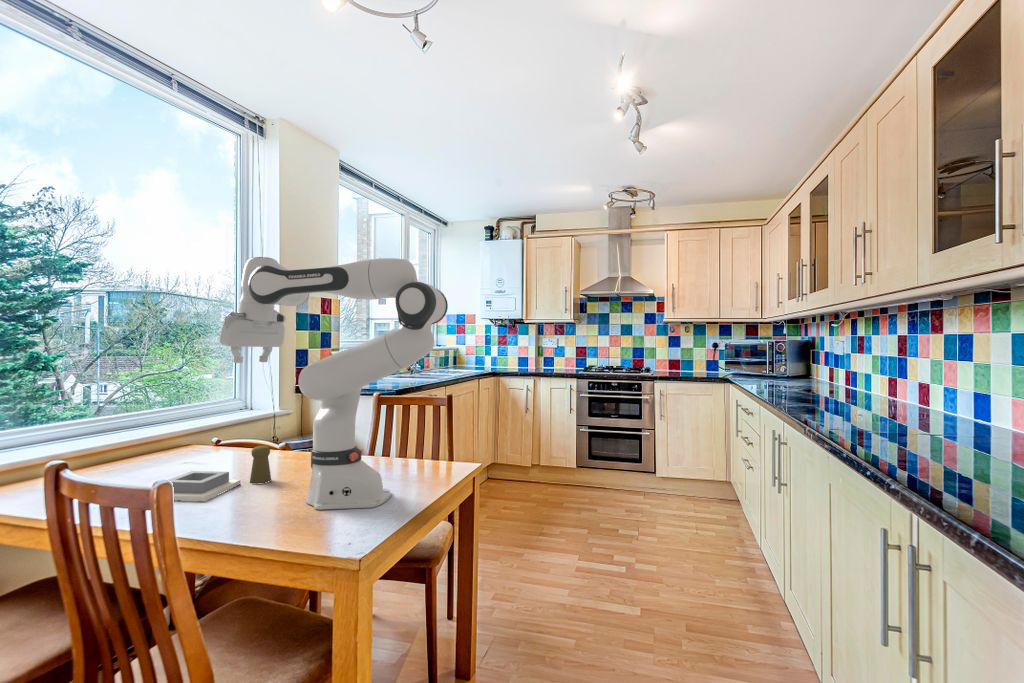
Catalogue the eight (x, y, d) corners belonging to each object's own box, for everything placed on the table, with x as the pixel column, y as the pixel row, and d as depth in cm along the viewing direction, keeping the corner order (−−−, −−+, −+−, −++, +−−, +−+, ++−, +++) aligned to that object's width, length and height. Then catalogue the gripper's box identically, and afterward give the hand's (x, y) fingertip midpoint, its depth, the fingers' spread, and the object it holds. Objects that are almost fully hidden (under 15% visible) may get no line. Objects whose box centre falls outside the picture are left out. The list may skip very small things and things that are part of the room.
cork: (262, 484, 149) (262, 448, 149) (245, 483, 150) (245, 447, 150) (275, 479, 155) (275, 444, 155) (259, 478, 156) (259, 444, 156)
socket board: (240, 484, 149) (240, 470, 149) (204, 501, 133) (204, 485, 133) (190, 483, 150) (190, 469, 150) (148, 500, 134) (148, 483, 134)
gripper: (236, 312, 127) (230, 364, 128) (289, 317, 147) (285, 362, 147) (216, 310, 129) (211, 361, 129) (272, 315, 149) (267, 360, 149)
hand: (250, 362), depth 138 cm, fingers open, 8 cm apart
